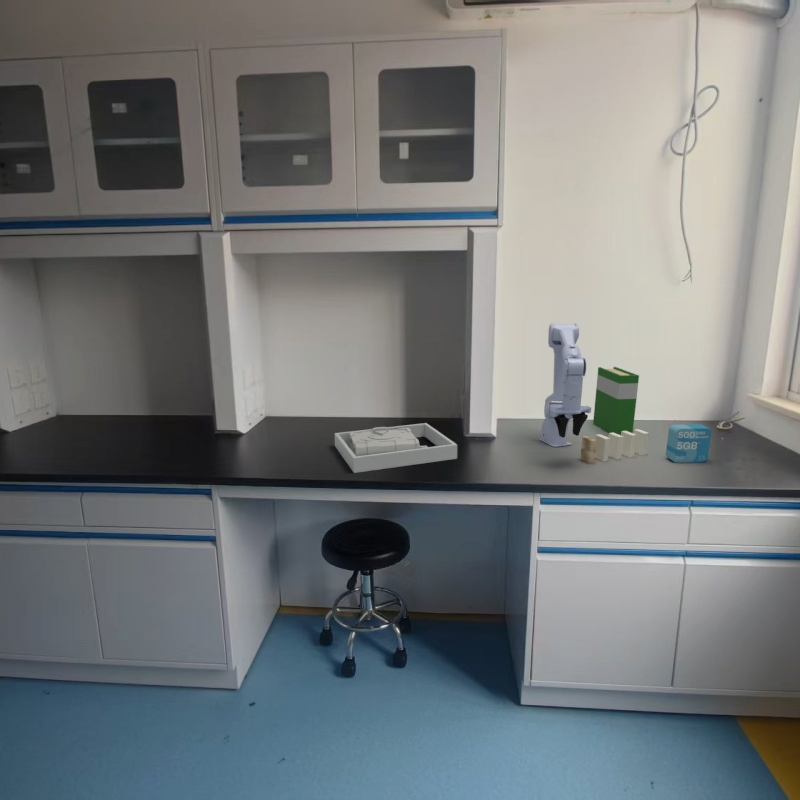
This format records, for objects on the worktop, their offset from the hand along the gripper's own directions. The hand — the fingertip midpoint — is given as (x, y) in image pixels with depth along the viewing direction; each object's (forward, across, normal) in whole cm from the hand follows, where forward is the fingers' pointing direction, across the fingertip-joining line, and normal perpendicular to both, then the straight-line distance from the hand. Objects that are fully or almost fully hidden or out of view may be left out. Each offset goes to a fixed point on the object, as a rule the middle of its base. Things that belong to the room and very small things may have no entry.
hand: (568, 435), depth 167 cm
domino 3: (+10, +20, 0) cm, 22 cm away
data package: (+10, +40, -11) cm, 43 cm away
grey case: (+11, -51, +33) cm, 61 cm away
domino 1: (+10, +8, 0) cm, 13 cm away
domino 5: (+10, +30, 0) cm, 32 cm away
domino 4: (+10, +25, 0) cm, 27 cm away
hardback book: (+10, +41, +25) cm, 49 cm away
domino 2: (+10, +14, 0) cm, 17 cm away
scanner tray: (+10, -50, +31) cm, 60 cm away
